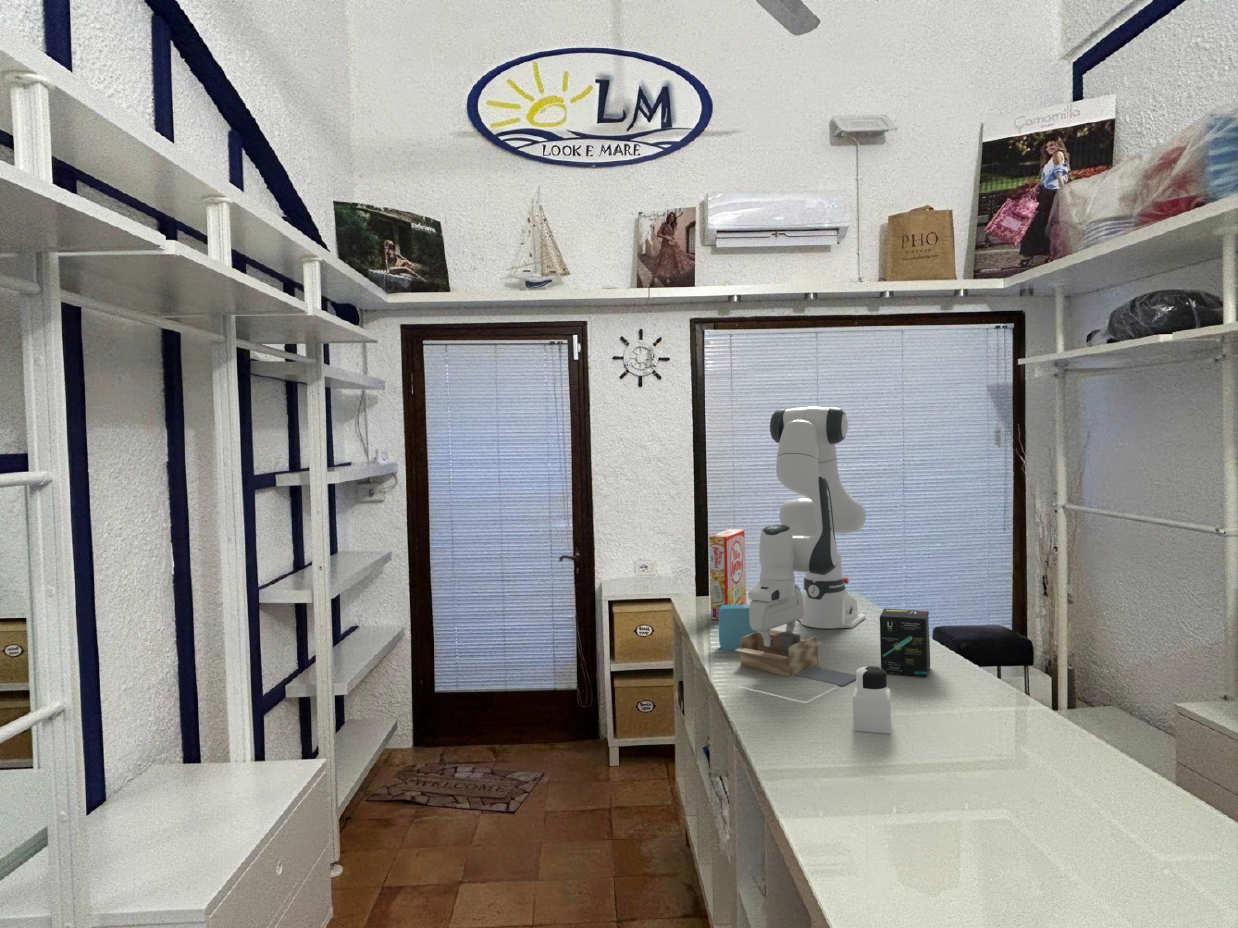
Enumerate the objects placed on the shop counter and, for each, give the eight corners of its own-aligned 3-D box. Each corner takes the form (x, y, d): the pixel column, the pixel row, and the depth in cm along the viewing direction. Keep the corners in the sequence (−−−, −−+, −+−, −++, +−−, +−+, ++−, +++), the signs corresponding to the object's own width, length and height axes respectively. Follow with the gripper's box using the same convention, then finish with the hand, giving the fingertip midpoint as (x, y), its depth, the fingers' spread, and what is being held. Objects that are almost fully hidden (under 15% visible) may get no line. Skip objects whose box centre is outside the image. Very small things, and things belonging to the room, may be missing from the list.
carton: (775, 652, 221) (774, 625, 221) (823, 661, 211) (822, 633, 211) (734, 668, 208) (733, 639, 208) (783, 679, 198) (782, 649, 197)
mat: (813, 667, 206) (813, 666, 206) (860, 677, 197) (860, 675, 197) (794, 676, 200) (794, 674, 200) (842, 686, 191) (842, 685, 191)
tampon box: (930, 667, 203) (929, 609, 203) (927, 678, 195) (926, 618, 194) (884, 663, 208) (883, 607, 207) (880, 674, 200) (878, 615, 199)
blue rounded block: (762, 646, 228) (760, 603, 228) (764, 650, 224) (762, 607, 223) (719, 646, 229) (718, 604, 228) (720, 651, 225) (719, 608, 224)
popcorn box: (728, 621, 258) (726, 536, 257) (710, 619, 261) (707, 536, 260) (747, 607, 277) (744, 528, 276) (729, 606, 279) (727, 528, 278)
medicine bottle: (891, 721, 168) (889, 664, 168) (890, 734, 161) (889, 675, 161) (855, 718, 170) (853, 662, 170) (853, 731, 164) (852, 672, 163)
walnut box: (767, 658, 215) (767, 628, 214) (800, 665, 208) (800, 634, 207) (758, 662, 211) (757, 632, 211) (791, 669, 204) (790, 638, 204)
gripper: (788, 581, 218) (790, 632, 219) (744, 593, 203) (745, 648, 204) (809, 583, 214) (810, 635, 214) (765, 596, 199) (766, 652, 200)
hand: (778, 641), depth 209 cm, fingers open, 8 cm apart
